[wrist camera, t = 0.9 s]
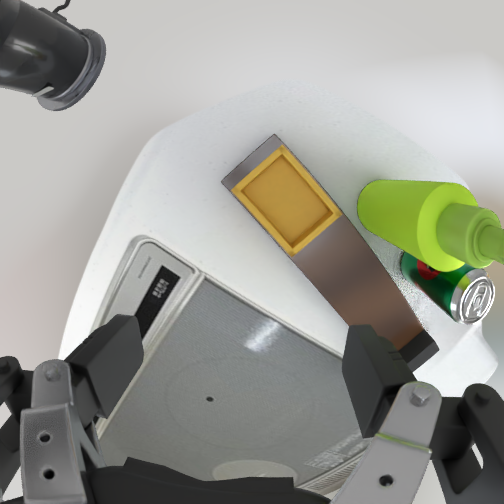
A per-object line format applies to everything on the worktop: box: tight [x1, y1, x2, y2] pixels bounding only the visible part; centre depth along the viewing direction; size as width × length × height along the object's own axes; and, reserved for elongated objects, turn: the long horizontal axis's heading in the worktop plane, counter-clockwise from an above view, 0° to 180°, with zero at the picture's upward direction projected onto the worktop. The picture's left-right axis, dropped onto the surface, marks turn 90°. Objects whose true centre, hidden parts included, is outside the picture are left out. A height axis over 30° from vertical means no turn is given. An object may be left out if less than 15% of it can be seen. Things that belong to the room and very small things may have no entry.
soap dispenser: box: [357, 180, 504, 272], centre depth 18 cm, size 6×7×20 cm
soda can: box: [401, 252, 494, 325], centre depth 23 cm, size 5×5×12 cm
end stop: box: [398, 330, 439, 372], centre depth 29 cm, size 2×7×3 cm, turn 132°
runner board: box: [221, 134, 424, 351], centre depth 29 cm, size 31×7×1 cm, turn 42°
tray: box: [231, 145, 342, 257], centre depth 25 cm, size 8×6×3 cm
